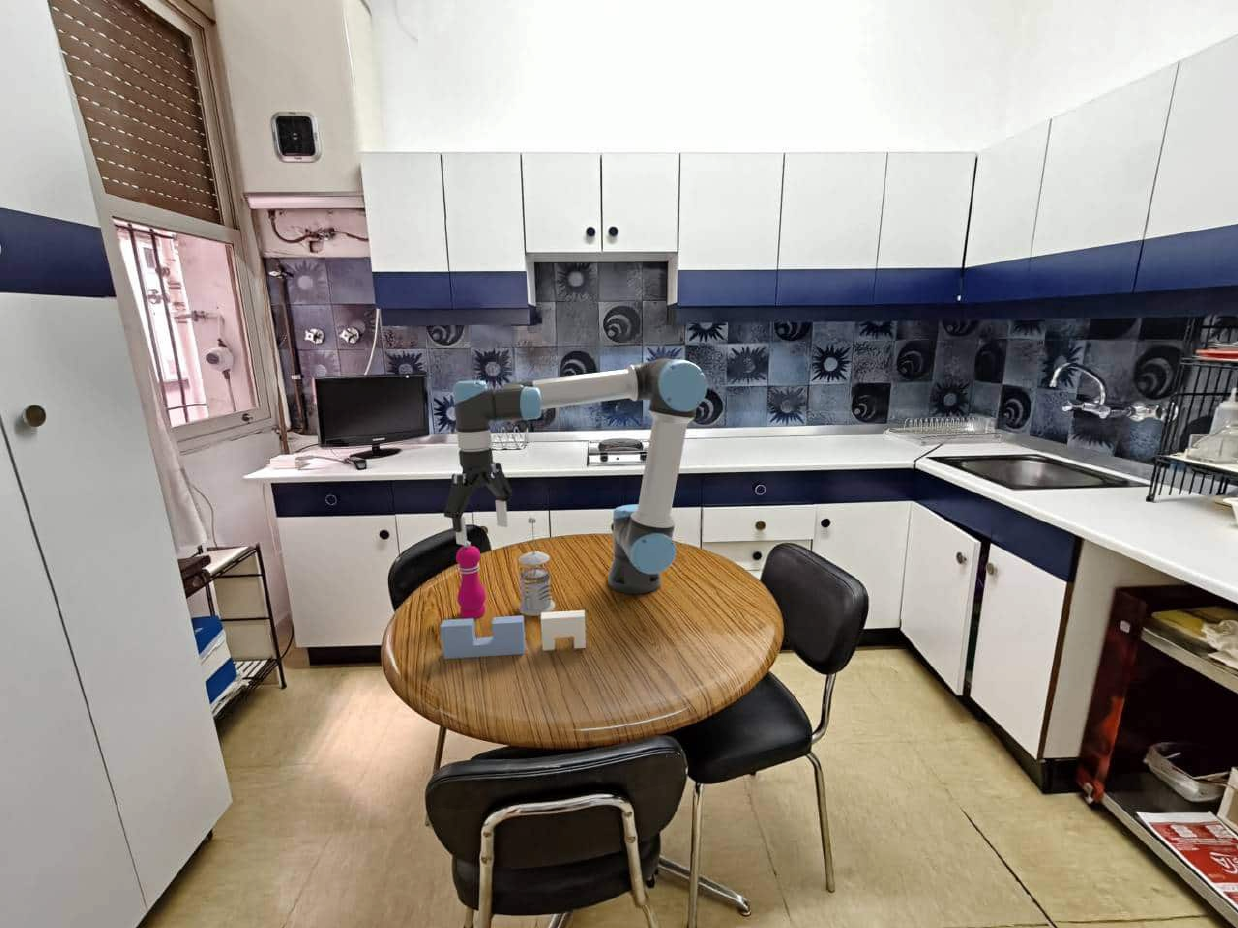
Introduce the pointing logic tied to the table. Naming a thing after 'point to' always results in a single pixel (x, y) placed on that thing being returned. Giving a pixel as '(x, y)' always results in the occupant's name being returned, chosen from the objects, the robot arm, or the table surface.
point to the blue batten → (464, 644)
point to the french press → (540, 591)
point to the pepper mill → (470, 583)
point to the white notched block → (563, 628)
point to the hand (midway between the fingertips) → (483, 534)
